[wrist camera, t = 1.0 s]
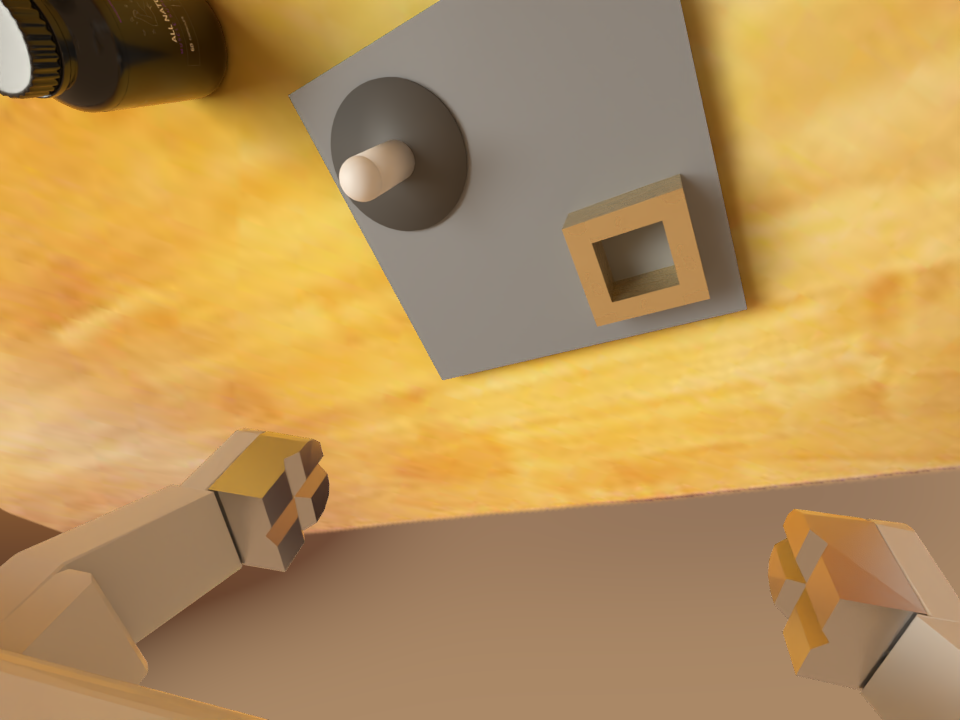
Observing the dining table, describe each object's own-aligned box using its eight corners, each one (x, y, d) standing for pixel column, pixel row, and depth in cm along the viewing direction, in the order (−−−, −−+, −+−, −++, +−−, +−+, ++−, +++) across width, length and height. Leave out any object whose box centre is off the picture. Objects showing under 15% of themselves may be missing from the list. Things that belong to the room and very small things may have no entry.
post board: (651, -124, 23) (651, -180, 17) (743, 298, 32) (766, 364, 26) (301, 92, 32) (219, 108, 26) (448, 369, 41) (413, 430, 35)
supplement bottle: (241, 15, 31) (56, 10, 21) (221, 118, 35) (57, 153, 25) (141, -55, 30) (-95, -92, 21) (133, 58, 34) (-69, 71, 25)
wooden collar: (679, 173, 28) (682, 187, 25) (705, 276, 30) (710, 298, 28) (568, 213, 30) (561, 229, 28) (600, 304, 33) (597, 326, 31)
